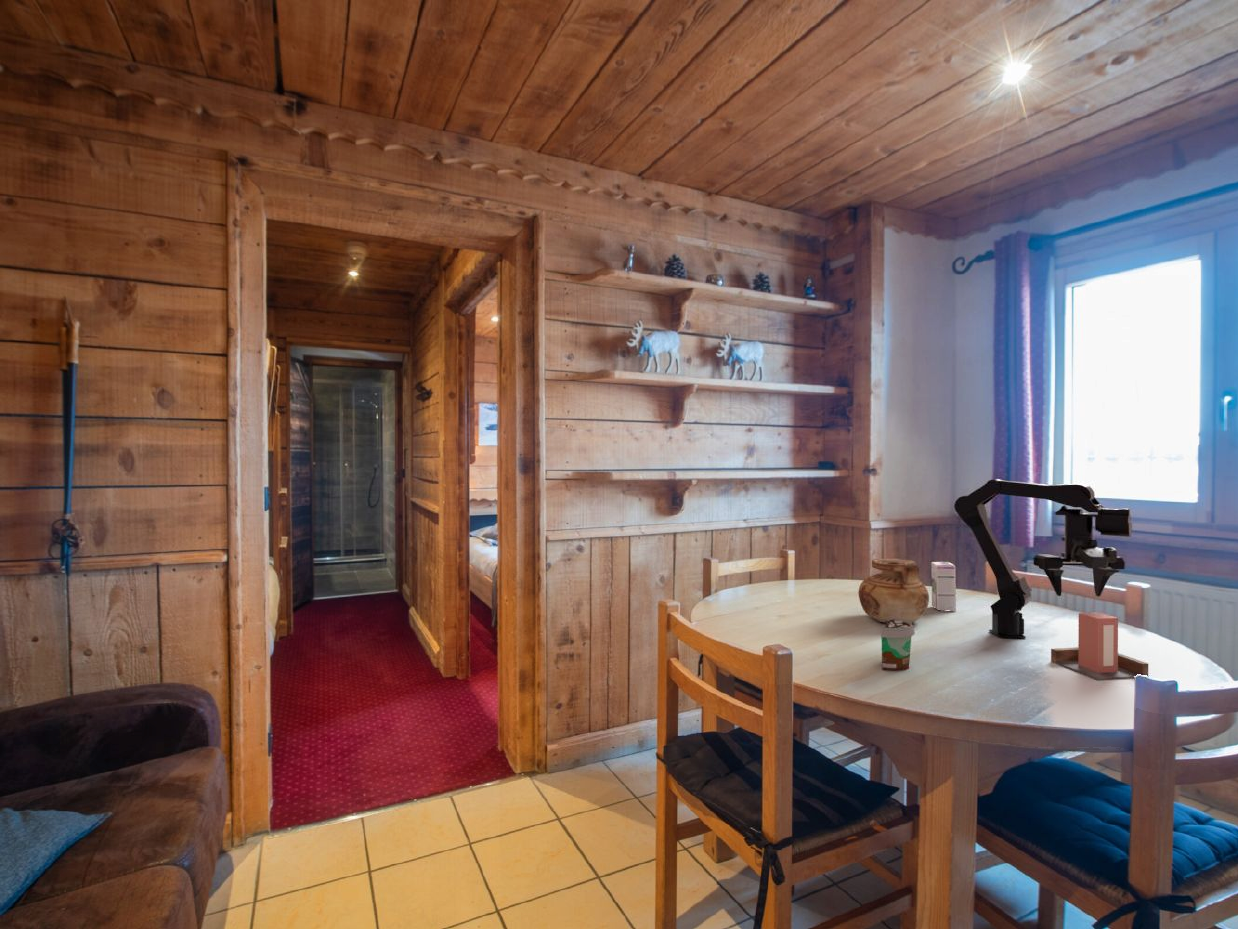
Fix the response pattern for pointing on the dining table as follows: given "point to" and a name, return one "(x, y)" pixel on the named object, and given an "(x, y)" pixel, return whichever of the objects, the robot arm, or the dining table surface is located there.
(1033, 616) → the dining table surface
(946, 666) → the dining table surface
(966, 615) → the dining table surface
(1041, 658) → the dining table surface
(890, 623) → the food container
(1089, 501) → the robot arm
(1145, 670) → the tray
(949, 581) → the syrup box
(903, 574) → the clay pot
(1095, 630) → the red block
